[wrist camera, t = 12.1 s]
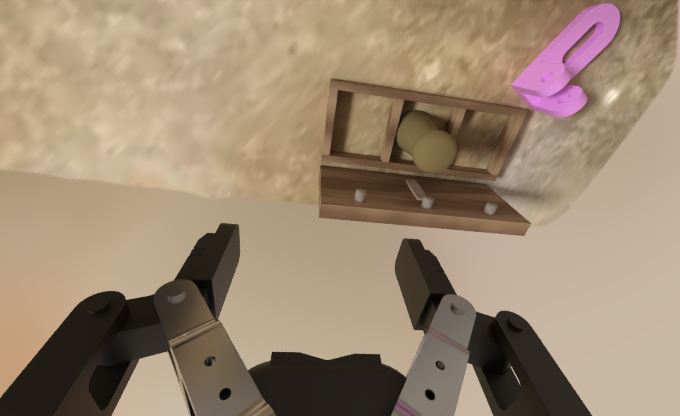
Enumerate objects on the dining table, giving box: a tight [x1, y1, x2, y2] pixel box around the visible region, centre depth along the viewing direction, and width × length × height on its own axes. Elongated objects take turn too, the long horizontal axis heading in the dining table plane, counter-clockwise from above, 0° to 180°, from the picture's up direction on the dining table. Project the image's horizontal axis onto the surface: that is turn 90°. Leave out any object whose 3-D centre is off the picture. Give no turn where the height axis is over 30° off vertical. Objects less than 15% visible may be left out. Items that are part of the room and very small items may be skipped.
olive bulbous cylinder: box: [394, 110, 457, 173], centre depth 37 cm, size 6×6×11 cm
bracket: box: [511, 3, 620, 118], centre depth 35 cm, size 13×6×7 cm, turn 143°
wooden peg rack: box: [319, 79, 531, 236], centre depth 38 cm, size 14×28×12 cm, turn 82°
